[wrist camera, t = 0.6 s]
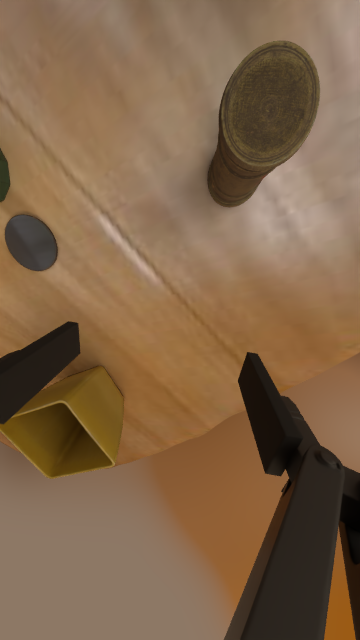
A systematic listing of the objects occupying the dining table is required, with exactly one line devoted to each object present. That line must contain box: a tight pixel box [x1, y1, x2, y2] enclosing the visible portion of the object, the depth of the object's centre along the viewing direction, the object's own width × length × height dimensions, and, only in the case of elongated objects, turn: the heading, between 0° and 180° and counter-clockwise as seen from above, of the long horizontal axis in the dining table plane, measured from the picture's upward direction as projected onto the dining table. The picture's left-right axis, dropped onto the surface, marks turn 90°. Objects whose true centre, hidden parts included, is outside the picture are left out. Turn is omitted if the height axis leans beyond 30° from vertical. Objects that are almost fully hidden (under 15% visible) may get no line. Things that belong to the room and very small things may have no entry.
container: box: [208, 41, 320, 207], centre depth 25 cm, size 9×9×18 cm
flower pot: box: [0, 366, 124, 479], centre depth 46 cm, size 19×19×17 cm
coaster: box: [5, 215, 58, 271], centre depth 40 cm, size 11×11×1 cm
